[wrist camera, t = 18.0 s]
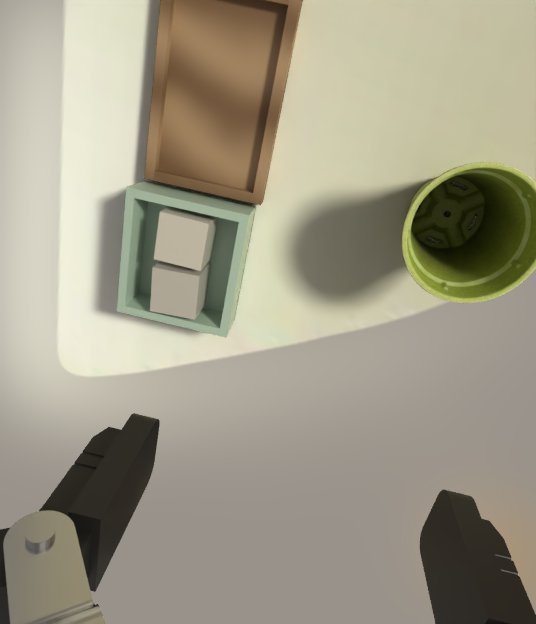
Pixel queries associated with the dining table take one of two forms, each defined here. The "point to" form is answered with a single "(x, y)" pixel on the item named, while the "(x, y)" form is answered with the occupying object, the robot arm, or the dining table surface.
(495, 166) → the plant pot
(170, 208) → the stone
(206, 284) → the stone
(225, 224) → the bin
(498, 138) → the dining table surface
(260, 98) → the tray
